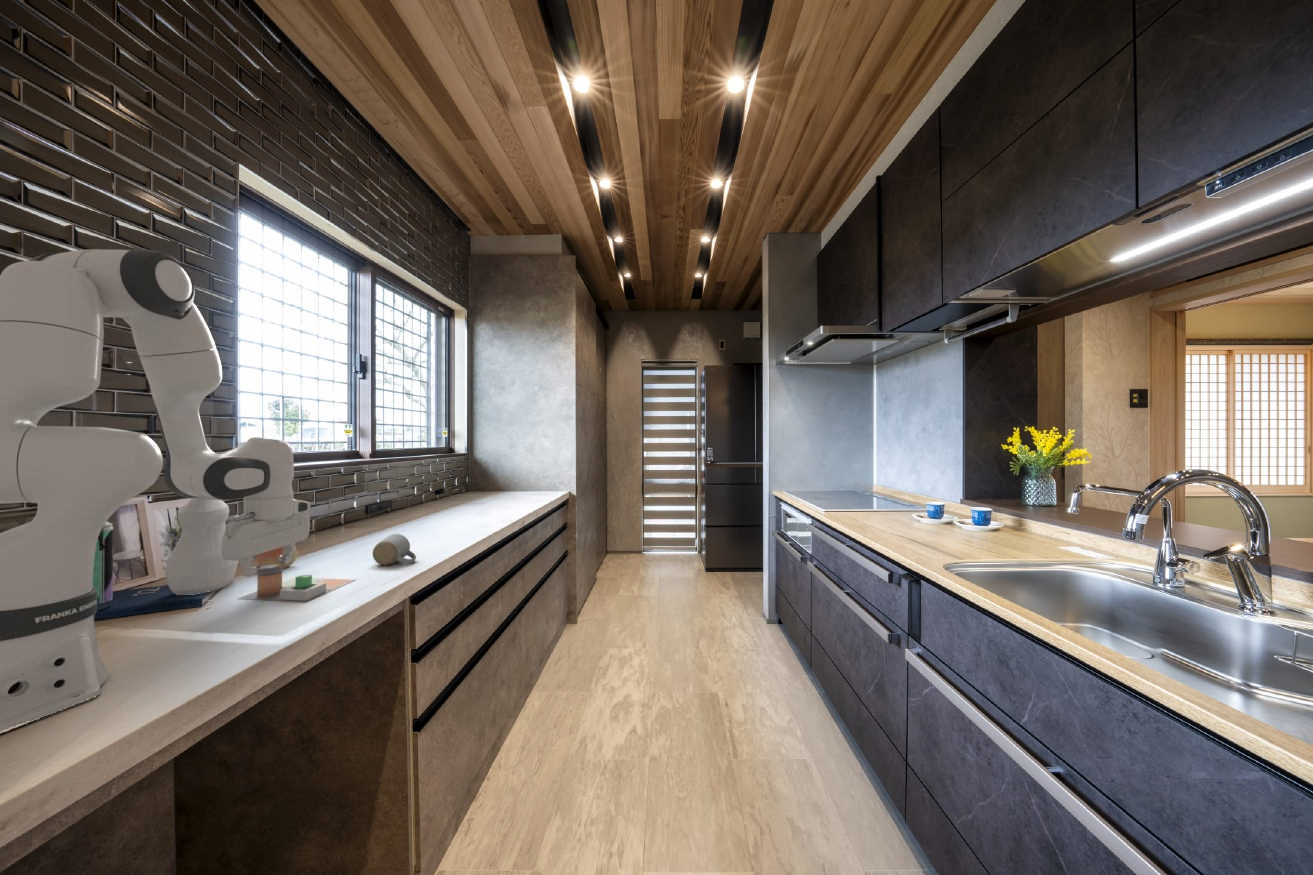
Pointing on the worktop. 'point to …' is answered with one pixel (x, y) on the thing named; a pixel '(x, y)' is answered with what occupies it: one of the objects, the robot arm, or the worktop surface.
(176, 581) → the soap bottle
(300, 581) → the button
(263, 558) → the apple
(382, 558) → the ceramic mug
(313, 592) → the colouring board
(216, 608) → the worktop surface
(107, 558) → the spray can
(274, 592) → the orange jar
